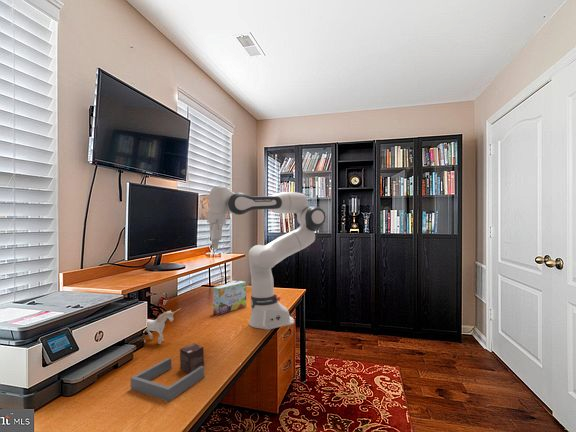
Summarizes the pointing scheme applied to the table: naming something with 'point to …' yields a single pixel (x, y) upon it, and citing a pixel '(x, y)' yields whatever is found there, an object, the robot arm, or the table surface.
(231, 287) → the snack box
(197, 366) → the box
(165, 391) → the box
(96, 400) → the table surface
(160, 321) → the unicorn figurine
